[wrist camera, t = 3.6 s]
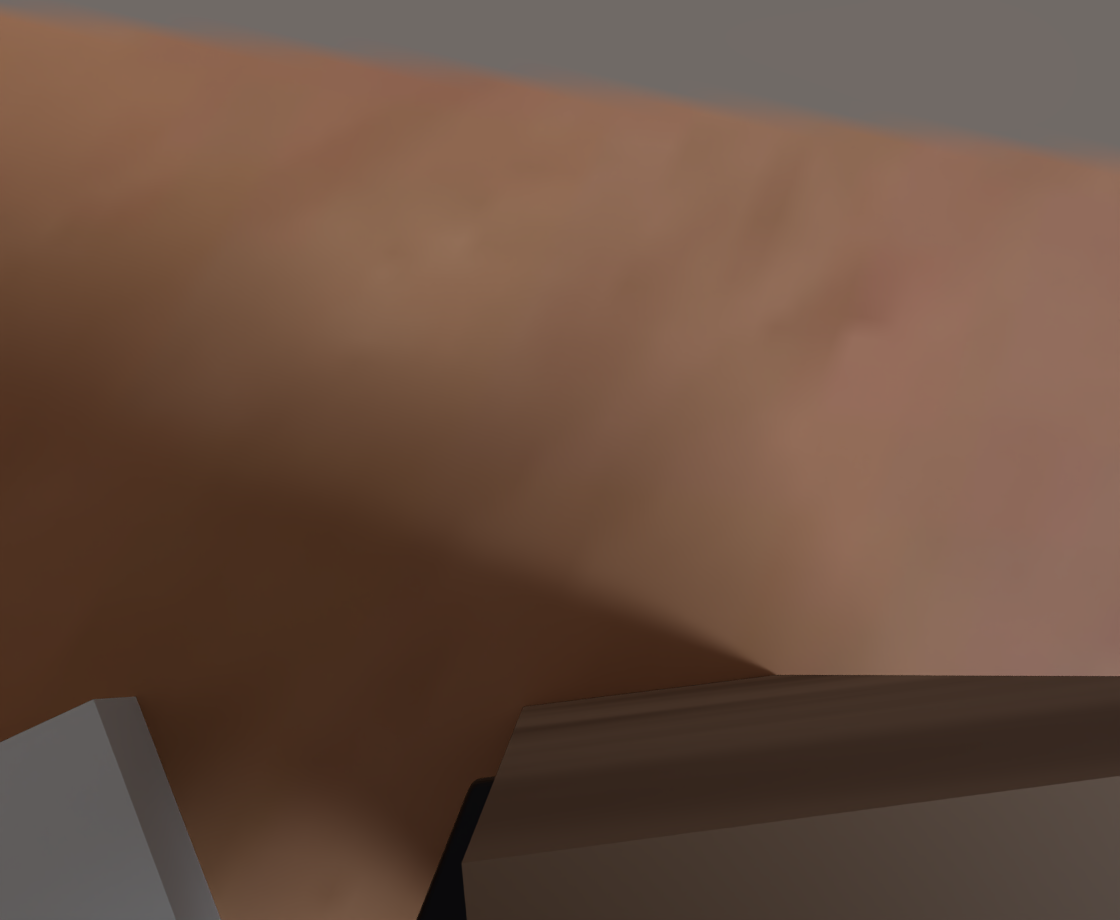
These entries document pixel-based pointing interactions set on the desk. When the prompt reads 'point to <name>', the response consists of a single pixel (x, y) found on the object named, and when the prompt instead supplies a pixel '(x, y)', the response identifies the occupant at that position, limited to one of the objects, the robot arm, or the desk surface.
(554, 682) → the desk surface
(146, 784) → the grey slab
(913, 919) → the walnut block
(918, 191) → the desk surface
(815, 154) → the desk surface
